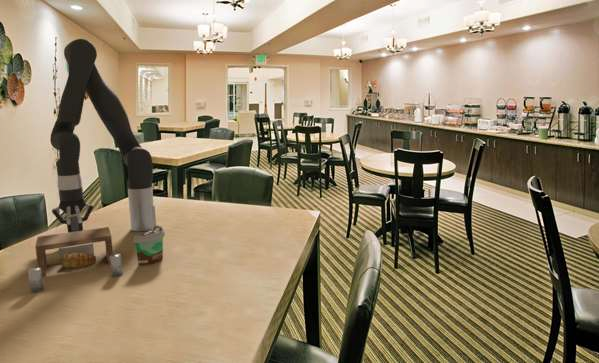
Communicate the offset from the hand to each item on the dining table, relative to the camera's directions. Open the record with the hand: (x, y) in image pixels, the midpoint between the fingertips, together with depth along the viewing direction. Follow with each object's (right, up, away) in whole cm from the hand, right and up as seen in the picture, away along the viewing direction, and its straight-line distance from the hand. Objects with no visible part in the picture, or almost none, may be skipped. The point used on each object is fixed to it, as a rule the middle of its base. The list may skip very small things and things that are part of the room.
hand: (75, 232), depth 146 cm
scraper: (+4, -4, -6) cm, 8 cm away
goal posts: (+19, -10, -33) cm, 39 cm away
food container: (+35, -7, -17) cm, 40 cm away
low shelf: (+12, -8, -20) cm, 25 cm away
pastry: (+11, -8, -19) cm, 24 cm away
